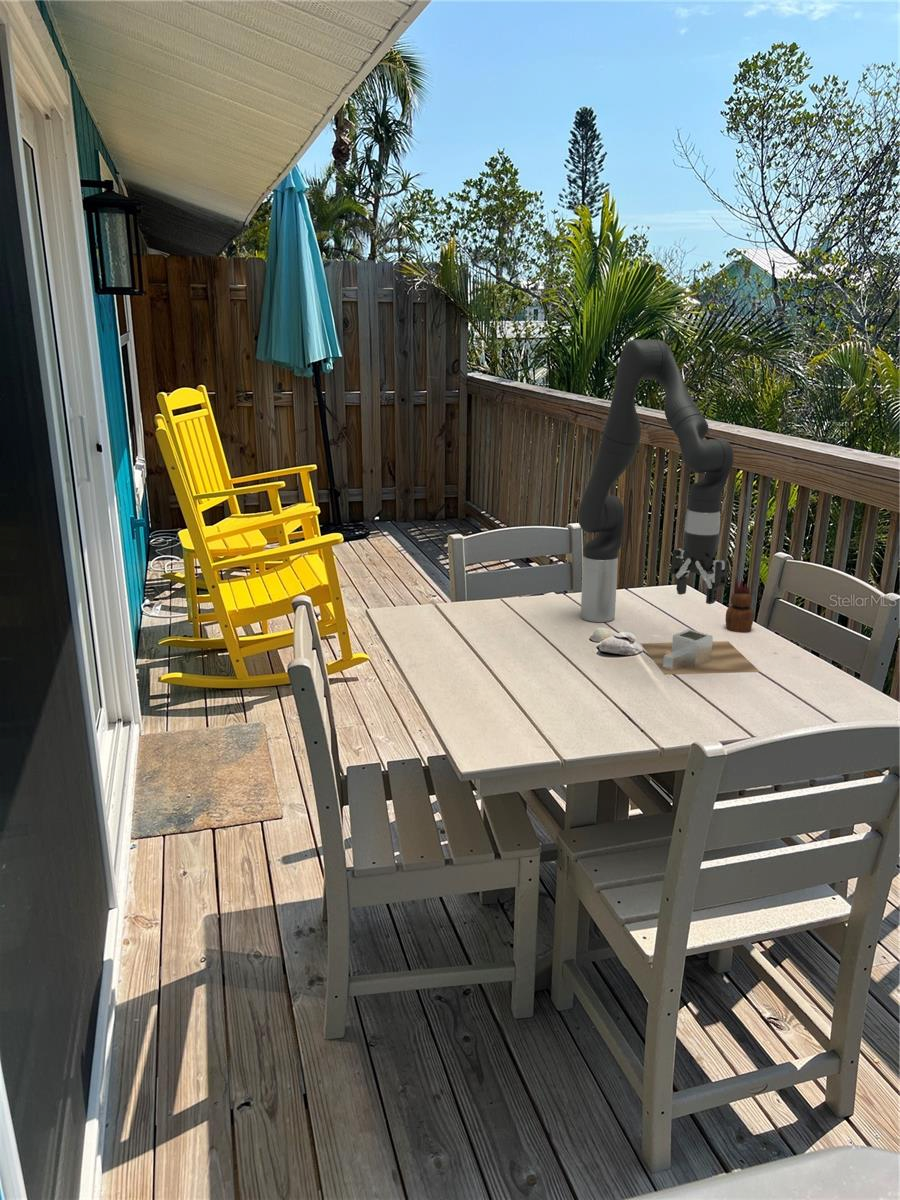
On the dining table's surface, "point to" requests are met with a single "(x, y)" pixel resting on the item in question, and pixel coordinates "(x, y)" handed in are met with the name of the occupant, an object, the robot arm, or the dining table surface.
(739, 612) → the wooden figurine
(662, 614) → the dining table surface
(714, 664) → the board
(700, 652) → the square container with handle
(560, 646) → the dining table surface
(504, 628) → the dining table surface
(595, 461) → the robot arm
